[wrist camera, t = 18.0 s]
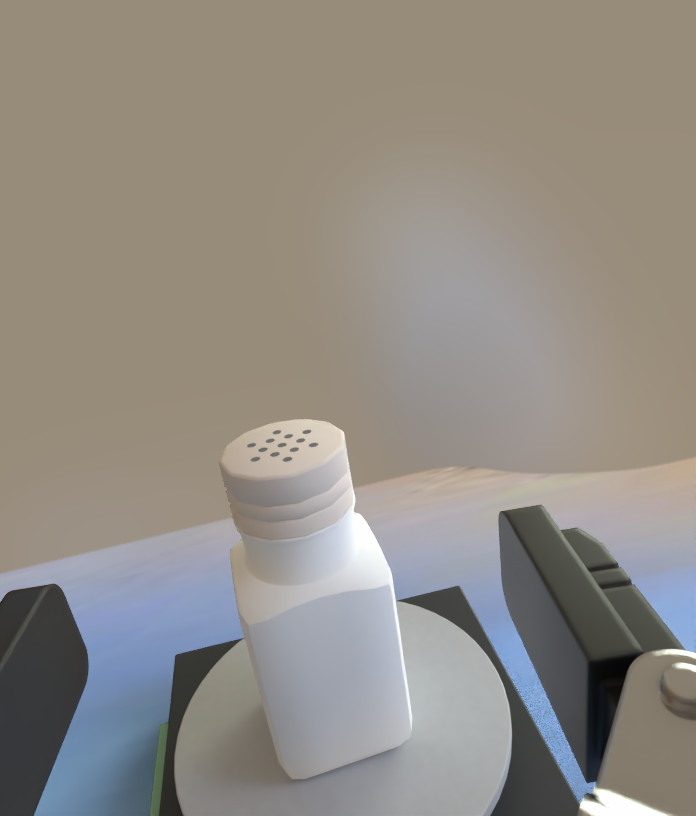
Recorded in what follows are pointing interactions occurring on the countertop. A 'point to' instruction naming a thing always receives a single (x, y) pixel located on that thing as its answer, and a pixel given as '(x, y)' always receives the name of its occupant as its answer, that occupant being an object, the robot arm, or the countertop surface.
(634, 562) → the countertop surface
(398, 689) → the salt shaker
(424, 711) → the scale
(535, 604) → the robot arm
